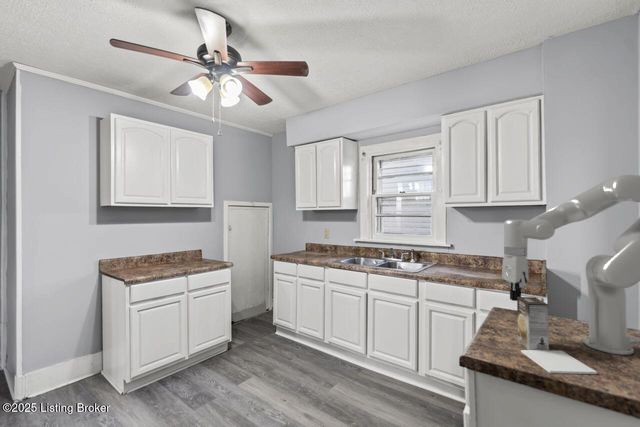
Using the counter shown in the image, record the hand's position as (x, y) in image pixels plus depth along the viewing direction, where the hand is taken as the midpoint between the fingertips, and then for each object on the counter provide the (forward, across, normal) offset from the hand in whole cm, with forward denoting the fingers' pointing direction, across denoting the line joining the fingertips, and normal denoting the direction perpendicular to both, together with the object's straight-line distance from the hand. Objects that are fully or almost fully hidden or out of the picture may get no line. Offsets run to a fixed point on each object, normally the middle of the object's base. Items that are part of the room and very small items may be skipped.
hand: (515, 300), depth 116 cm
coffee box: (+14, +9, +1) cm, 17 cm away
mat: (+13, +21, 0) cm, 25 cm away
